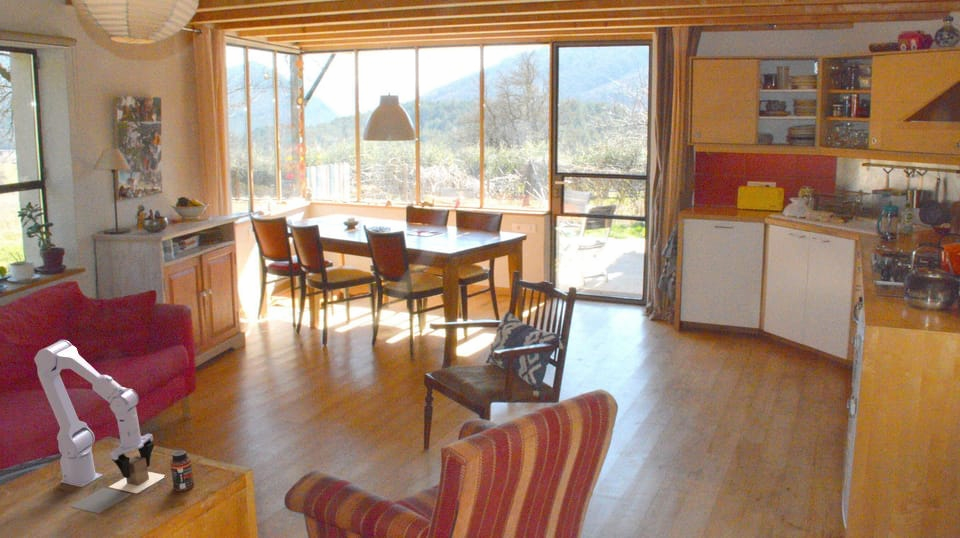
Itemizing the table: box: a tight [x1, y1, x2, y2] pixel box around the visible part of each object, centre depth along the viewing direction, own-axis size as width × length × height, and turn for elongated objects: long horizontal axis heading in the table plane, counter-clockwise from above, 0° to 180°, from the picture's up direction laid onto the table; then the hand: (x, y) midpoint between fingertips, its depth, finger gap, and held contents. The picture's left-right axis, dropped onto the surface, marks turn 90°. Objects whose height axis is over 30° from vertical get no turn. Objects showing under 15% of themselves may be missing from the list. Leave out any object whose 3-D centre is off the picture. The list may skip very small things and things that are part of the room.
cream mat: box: [108, 471, 166, 494], centre depth 270 cm, size 12×12×1 cm
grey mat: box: [69, 487, 132, 515], centre depth 259 cm, size 12×12×1 cm
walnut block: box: [126, 455, 149, 486], centre depth 269 cm, size 4×4×7 cm
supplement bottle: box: [169, 449, 195, 492], centre depth 263 cm, size 6×6×11 cm
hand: (136, 471), depth 269 cm, fingers open, 7 cm apart
